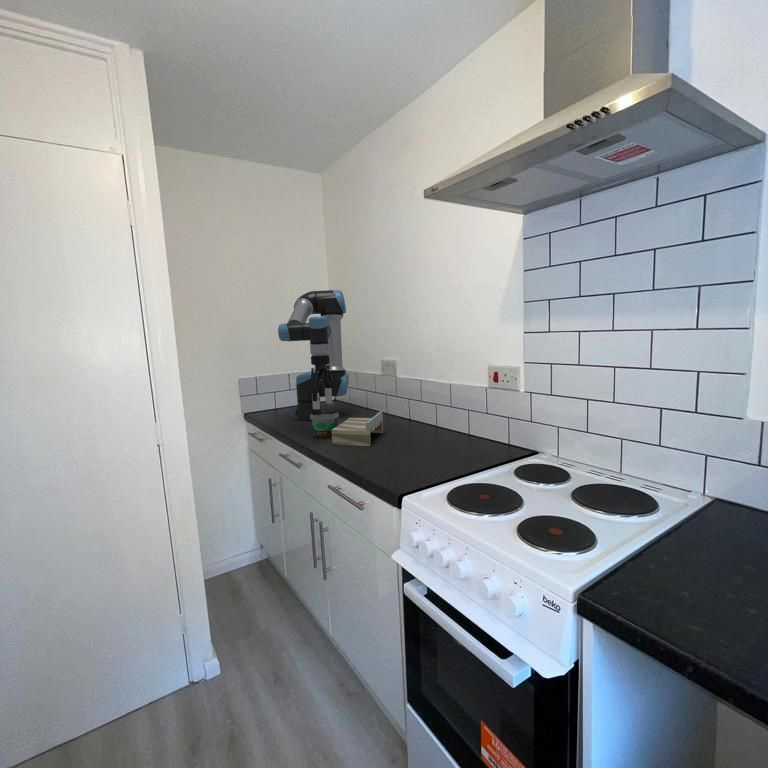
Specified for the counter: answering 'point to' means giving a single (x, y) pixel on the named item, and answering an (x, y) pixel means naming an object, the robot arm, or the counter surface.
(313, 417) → the food container
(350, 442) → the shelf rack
